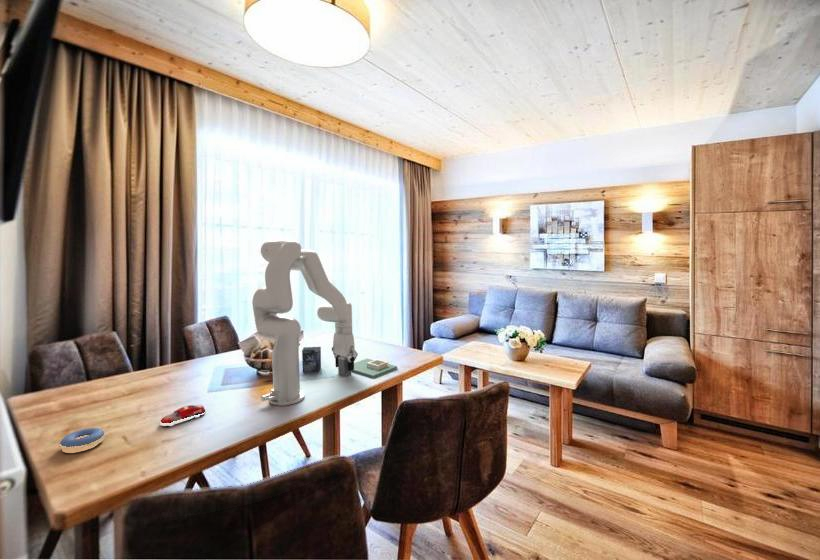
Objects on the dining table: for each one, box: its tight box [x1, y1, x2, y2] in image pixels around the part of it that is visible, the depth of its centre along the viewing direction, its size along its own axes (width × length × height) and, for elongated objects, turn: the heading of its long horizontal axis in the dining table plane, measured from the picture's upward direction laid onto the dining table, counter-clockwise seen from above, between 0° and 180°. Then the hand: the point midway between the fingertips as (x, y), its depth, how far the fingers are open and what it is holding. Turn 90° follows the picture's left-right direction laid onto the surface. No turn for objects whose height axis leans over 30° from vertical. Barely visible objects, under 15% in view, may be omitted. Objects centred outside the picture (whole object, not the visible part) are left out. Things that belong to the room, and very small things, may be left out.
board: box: [351, 358, 398, 379], centre depth 174 cm, size 16×20×3 cm
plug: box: [337, 356, 352, 377], centre depth 167 cm, size 4×4×8 cm
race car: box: [160, 404, 206, 423], centre depth 124 cm, size 13×5×4 cm, turn 139°
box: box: [301, 346, 322, 373], centre depth 172 cm, size 8×6×11 cm
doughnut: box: [59, 427, 106, 447], centre depth 107 cm, size 10×10×5 cm
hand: (344, 368), depth 167 cm, fingers open, 7 cm apart
